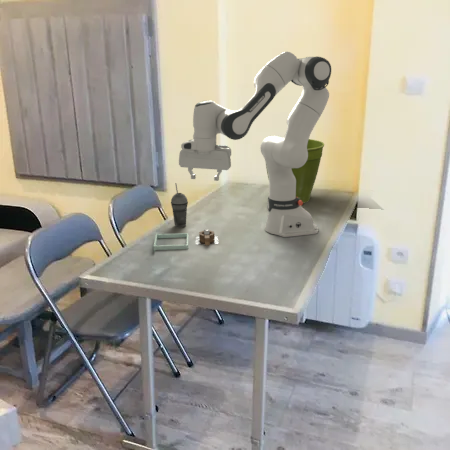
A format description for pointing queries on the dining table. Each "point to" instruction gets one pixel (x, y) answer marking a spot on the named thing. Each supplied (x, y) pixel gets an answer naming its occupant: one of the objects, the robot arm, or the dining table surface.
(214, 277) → the dining table surface
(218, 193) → the dining table surface
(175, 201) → the beverage cup
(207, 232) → the stake
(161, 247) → the tray
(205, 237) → the ring
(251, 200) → the dining table surface
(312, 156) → the plant pot
